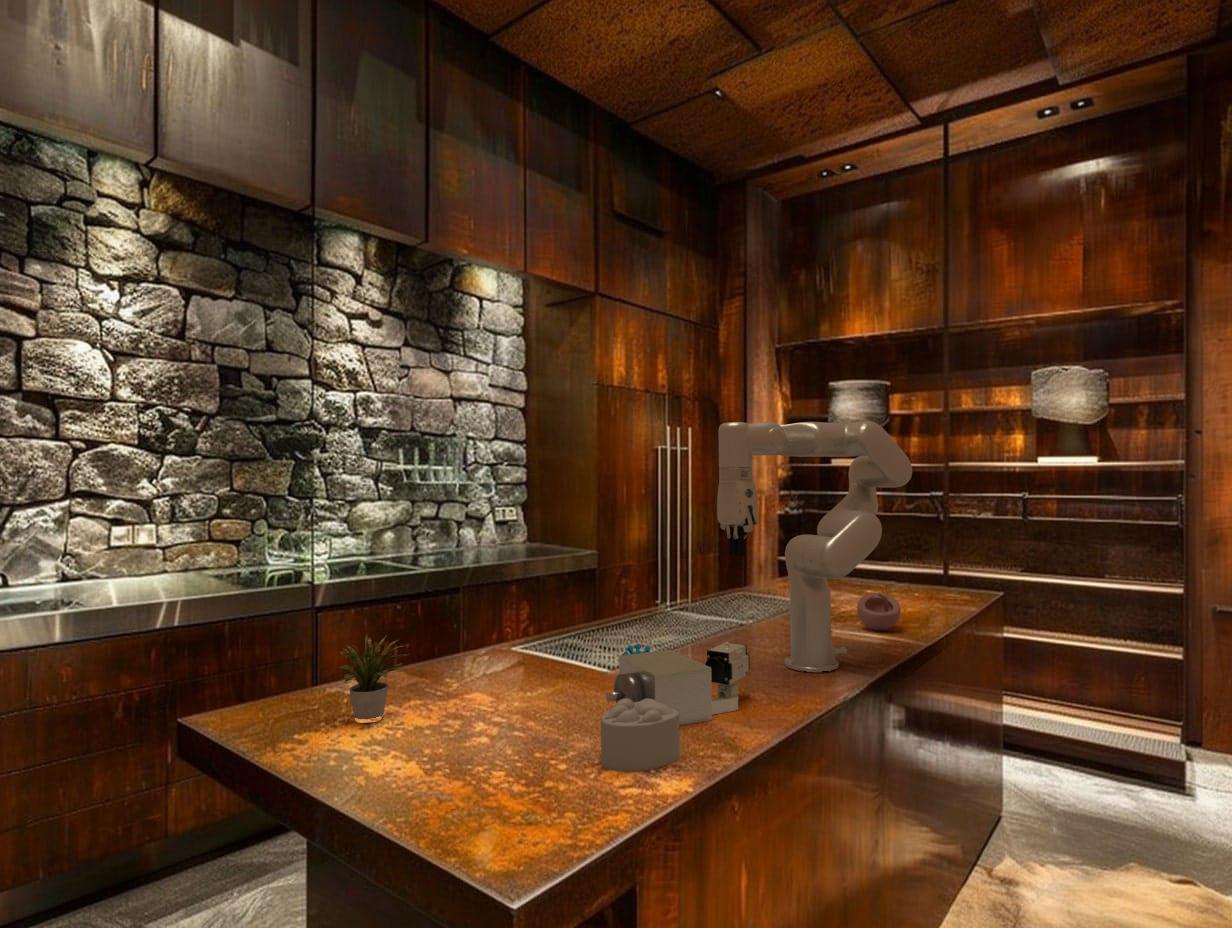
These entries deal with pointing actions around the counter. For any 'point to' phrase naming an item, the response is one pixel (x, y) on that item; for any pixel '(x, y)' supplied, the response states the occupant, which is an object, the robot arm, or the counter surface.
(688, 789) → the counter surface
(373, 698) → the house plant
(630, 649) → the teal lobed piece
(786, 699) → the counter surface
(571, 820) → the counter surface
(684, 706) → the motor
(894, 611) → the mortar and pestle
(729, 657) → the pneumatic valve
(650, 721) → the lumpy-topped squat cylinder
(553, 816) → the counter surface
